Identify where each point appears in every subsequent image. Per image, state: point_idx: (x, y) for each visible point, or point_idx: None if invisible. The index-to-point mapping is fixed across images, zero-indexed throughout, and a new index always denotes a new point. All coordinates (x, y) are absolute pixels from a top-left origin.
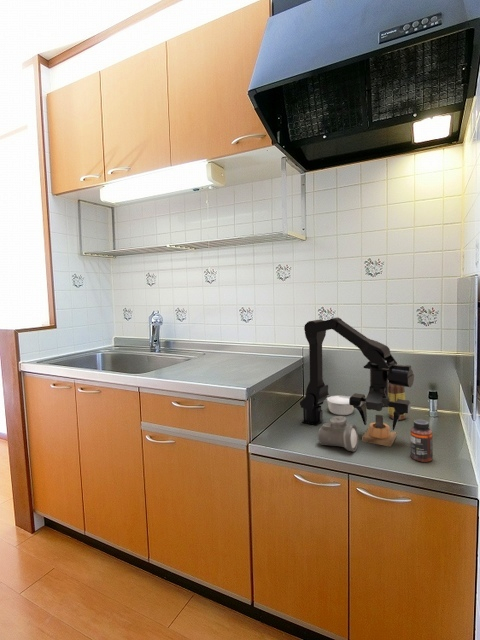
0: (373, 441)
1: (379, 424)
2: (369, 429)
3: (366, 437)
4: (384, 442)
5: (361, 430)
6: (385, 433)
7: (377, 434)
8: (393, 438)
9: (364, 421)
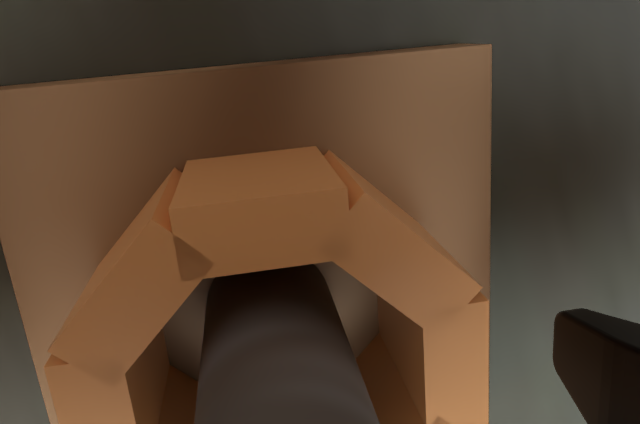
0: (283, 60)
1: (252, 372)
2: (441, 246)
3: (415, 51)
4: (85, 80)
5: (564, 388)
6: (106, 260)
7: (245, 167)
8: (36, 329)
9: (634, 335)
